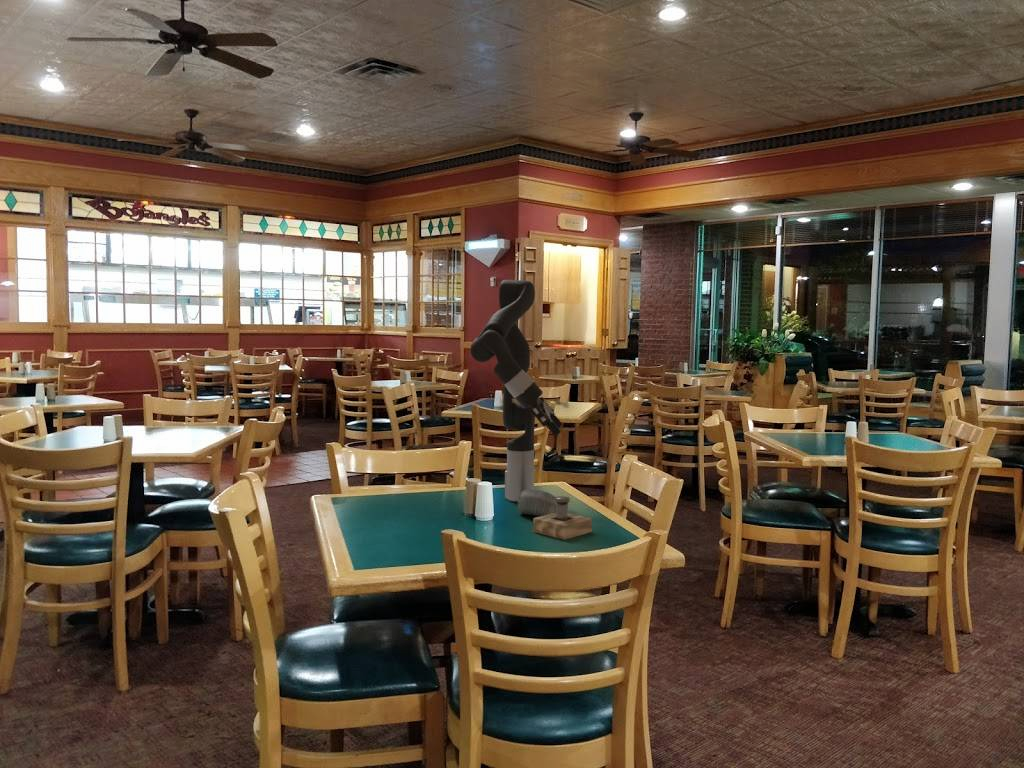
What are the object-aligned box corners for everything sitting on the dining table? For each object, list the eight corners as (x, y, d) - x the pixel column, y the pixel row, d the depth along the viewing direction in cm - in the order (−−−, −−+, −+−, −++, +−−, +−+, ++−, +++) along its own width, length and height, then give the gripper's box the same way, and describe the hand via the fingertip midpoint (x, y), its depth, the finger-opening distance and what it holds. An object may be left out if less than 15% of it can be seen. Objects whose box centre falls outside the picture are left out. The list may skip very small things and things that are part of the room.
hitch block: (533, 531, 239) (533, 518, 238) (560, 524, 247) (560, 511, 247) (564, 539, 230) (564, 525, 230) (591, 531, 239) (591, 518, 239)
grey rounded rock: (506, 504, 258) (522, 477, 259) (524, 513, 265) (539, 486, 266) (535, 523, 249) (551, 494, 250) (552, 531, 256) (568, 503, 256)
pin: (551, 531, 239) (552, 497, 238) (560, 529, 242) (561, 495, 241) (561, 534, 236) (562, 500, 235) (571, 532, 239) (572, 498, 238)
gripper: (516, 391, 249) (551, 432, 250) (510, 401, 235) (547, 444, 236) (535, 376, 247) (570, 416, 248) (530, 385, 234) (567, 428, 235)
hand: (559, 430), depth 242 cm, fingers open, 8 cm apart
